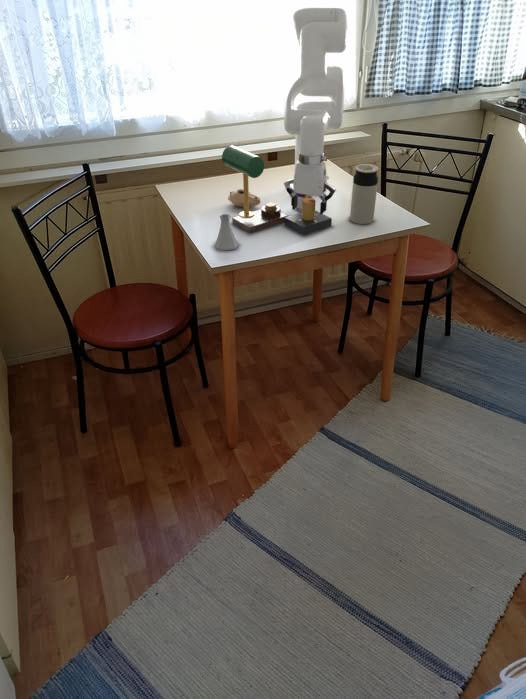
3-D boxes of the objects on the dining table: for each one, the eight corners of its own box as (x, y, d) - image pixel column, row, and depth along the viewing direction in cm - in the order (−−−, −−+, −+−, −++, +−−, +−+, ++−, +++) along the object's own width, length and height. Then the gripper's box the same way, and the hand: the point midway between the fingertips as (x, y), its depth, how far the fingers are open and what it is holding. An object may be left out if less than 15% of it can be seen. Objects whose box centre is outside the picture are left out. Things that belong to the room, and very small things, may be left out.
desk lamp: (240, 207, 196) (239, 143, 184) (265, 220, 187) (265, 154, 175) (224, 211, 193) (221, 147, 181) (248, 225, 184) (247, 158, 172)
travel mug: (352, 225, 194) (357, 172, 183) (347, 215, 200) (352, 163, 190) (375, 224, 194) (381, 171, 184) (370, 214, 201) (376, 163, 190)
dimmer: (311, 217, 199) (312, 208, 197) (331, 226, 193) (331, 217, 191) (284, 225, 194) (284, 216, 192) (303, 236, 187) (303, 226, 185)
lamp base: (270, 212, 203) (270, 201, 200) (287, 221, 196) (288, 210, 194) (232, 223, 195) (231, 212, 193) (249, 233, 189) (249, 222, 186)
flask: (214, 241, 184) (212, 211, 178) (237, 240, 185) (236, 210, 179) (215, 251, 178) (213, 221, 172) (238, 250, 179) (237, 220, 173)
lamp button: (271, 206, 198) (271, 201, 197) (278, 209, 195) (278, 204, 194) (263, 208, 196) (263, 204, 195) (269, 212, 194) (269, 207, 193)
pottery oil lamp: (253, 212, 202) (243, 195, 198) (231, 214, 210) (221, 198, 206) (267, 197, 205) (257, 180, 201) (245, 199, 214) (235, 183, 210)
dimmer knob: (299, 219, 190) (300, 200, 187) (304, 214, 194) (304, 196, 190) (312, 221, 189) (313, 202, 185) (316, 216, 192) (317, 198, 189)
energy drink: (300, 213, 202) (301, 179, 195) (293, 208, 206) (293, 175, 199) (313, 210, 204) (315, 177, 197) (305, 205, 208) (307, 172, 201)
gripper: (341, 158, 180) (337, 210, 190) (289, 151, 185) (288, 202, 196) (333, 165, 174) (330, 218, 184) (280, 158, 180) (279, 210, 190)
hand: (308, 210), depth 190 cm, fingers open, 9 cm apart
